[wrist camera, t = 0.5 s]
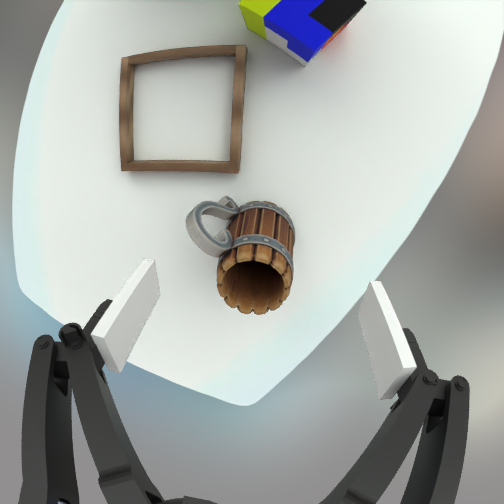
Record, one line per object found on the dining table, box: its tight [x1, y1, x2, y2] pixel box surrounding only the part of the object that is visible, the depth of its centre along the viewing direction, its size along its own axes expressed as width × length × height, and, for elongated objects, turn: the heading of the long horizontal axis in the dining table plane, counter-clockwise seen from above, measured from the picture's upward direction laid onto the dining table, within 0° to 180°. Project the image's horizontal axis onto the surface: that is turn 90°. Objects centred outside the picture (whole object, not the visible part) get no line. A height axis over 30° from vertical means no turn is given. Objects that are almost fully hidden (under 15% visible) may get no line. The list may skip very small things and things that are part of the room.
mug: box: [186, 196, 295, 315], centre depth 35 cm, size 16×11×15 cm
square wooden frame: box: [119, 45, 247, 173], centre depth 33 cm, size 18×18×2 cm
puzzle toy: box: [238, 0, 367, 66], centre depth 22 cm, size 10×10×10 cm
